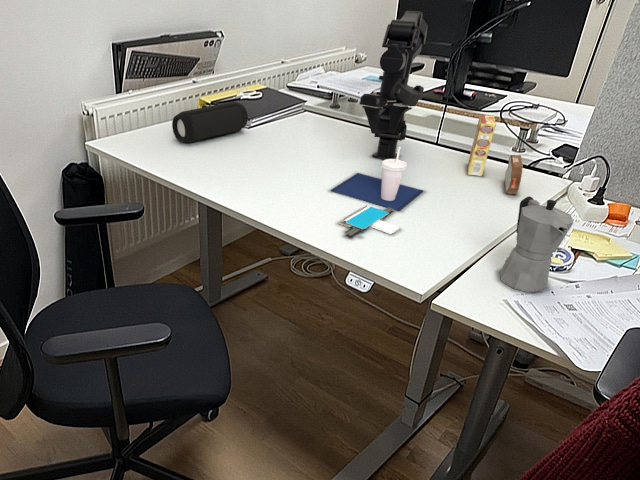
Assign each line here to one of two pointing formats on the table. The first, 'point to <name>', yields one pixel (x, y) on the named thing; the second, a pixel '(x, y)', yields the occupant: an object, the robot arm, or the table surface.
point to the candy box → (481, 145)
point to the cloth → (375, 191)
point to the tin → (513, 174)
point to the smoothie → (391, 177)
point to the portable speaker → (209, 122)
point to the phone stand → (368, 221)
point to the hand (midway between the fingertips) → (382, 132)
